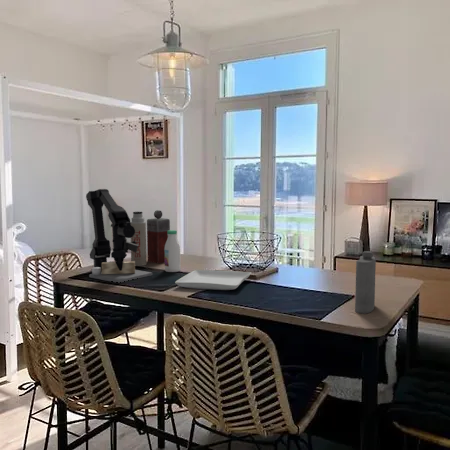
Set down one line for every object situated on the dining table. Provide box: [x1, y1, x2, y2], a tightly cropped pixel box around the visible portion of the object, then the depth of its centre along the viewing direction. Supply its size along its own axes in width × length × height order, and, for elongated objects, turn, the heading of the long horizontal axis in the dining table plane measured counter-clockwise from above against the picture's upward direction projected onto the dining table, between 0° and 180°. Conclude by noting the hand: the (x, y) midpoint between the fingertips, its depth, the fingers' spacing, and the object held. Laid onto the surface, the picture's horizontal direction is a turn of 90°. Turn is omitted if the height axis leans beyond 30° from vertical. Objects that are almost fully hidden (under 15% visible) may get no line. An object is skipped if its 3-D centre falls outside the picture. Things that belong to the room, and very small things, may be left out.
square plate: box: [174, 269, 252, 291], centre depth 205 cm, size 27×27×4 cm
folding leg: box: [101, 260, 136, 274], centre depth 220 cm, size 15×3×5 cm, turn 99°
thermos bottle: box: [130, 211, 147, 267], centre depth 248 cm, size 8×8×28 cm
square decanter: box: [146, 209, 171, 264], centre depth 258 cm, size 9×11×28 cm
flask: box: [354, 250, 377, 315], centre depth 165 cm, size 15×6×20 cm, turn 157°
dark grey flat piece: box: [88, 261, 153, 284], centre depth 221 cm, size 22×20×5 cm
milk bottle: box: [164, 229, 181, 273], centre depth 232 cm, size 8×8×20 cm
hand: (120, 270), depth 217 cm, fingers closed
